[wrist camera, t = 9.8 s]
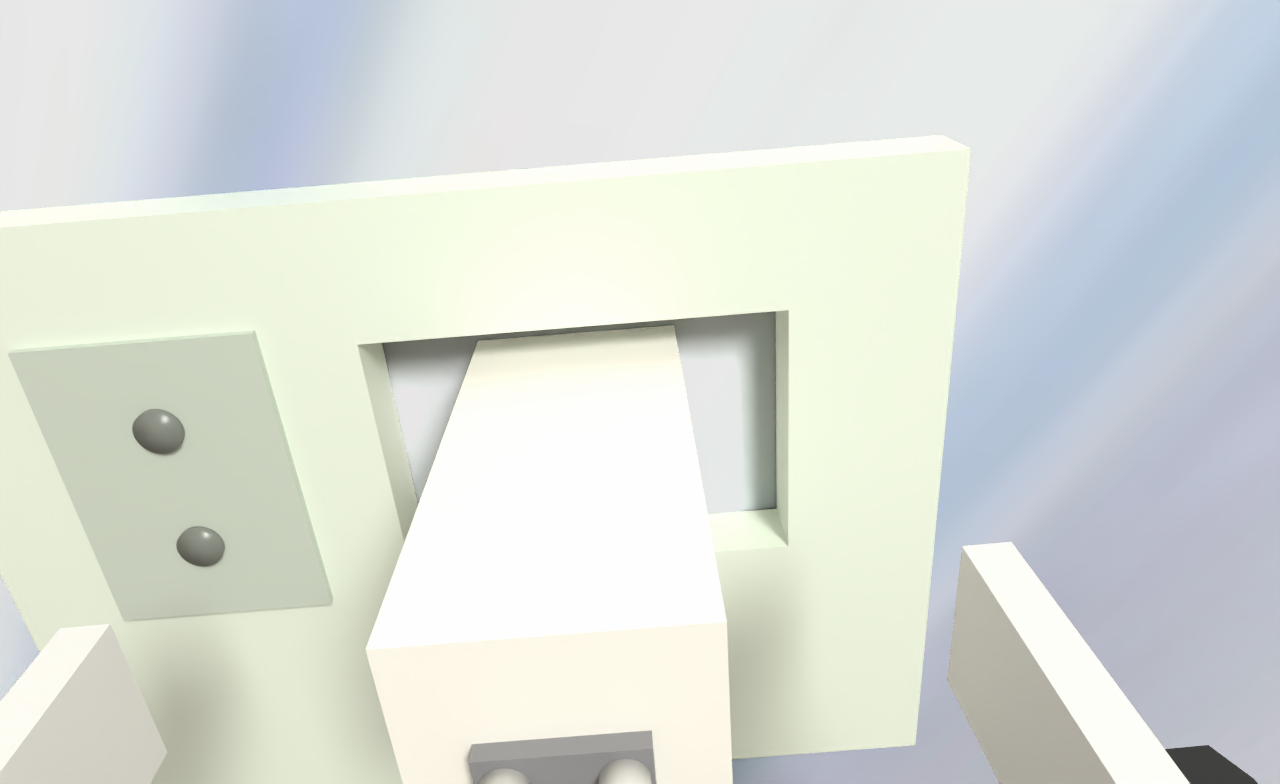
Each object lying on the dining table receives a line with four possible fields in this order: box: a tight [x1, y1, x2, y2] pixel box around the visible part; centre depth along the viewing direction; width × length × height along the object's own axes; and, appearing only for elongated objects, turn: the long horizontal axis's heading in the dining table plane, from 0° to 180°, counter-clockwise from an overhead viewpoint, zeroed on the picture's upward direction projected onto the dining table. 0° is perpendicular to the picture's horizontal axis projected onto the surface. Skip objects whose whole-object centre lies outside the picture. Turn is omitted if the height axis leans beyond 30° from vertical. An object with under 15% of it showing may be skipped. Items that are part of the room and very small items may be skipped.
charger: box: [366, 325, 733, 784], centre depth 15 cm, size 4×4×12 cm
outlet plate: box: [0, 135, 971, 784], centre depth 21 cm, size 22×16×2 cm
